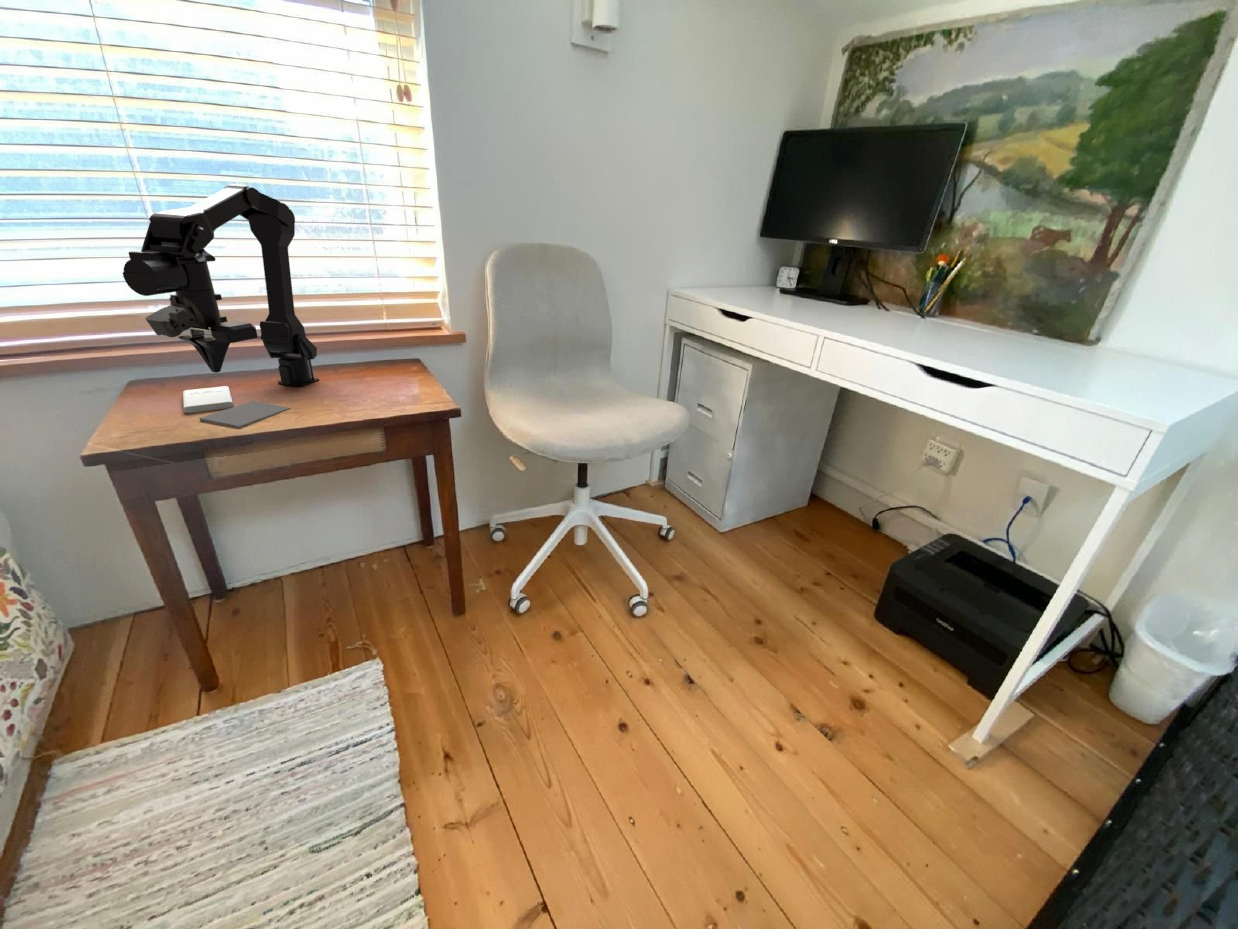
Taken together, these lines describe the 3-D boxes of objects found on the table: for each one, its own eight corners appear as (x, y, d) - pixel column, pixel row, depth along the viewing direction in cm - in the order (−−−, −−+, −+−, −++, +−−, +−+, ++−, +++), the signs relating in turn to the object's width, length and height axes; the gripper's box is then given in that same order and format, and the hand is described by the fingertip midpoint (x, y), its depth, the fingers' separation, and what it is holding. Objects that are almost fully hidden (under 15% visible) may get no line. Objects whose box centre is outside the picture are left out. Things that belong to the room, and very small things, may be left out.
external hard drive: (185, 414, 108) (184, 396, 116) (234, 408, 112) (229, 392, 121) (183, 406, 107) (182, 389, 116) (232, 401, 112) (228, 385, 120)
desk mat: (253, 403, 116) (252, 400, 115) (290, 410, 113) (290, 407, 113) (200, 420, 105) (199, 418, 105) (240, 428, 103) (239, 426, 102)
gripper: (107, 288, 92) (136, 375, 98) (190, 299, 88) (214, 389, 94) (172, 282, 102) (194, 362, 108) (250, 292, 97) (268, 374, 104)
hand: (216, 372), depth 103 cm, fingers closed
